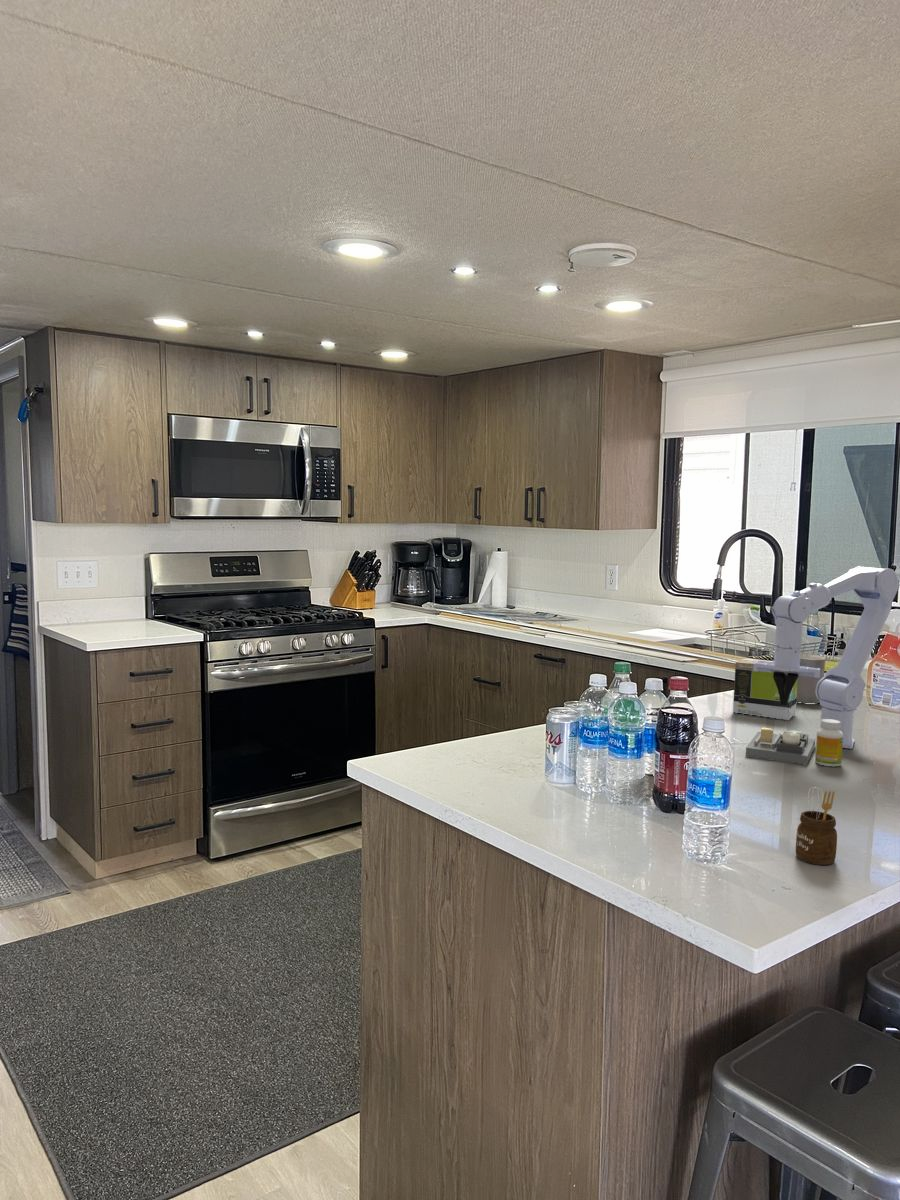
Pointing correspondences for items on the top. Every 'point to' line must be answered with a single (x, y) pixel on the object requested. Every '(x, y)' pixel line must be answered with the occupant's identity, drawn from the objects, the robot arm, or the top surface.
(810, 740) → the panel
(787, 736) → the white button
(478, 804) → the top surface
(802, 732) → the sage button
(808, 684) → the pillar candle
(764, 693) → the tea box
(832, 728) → the supplement bottle
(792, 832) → the top surface
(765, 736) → the tan wooden block
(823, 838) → the utensil holder
